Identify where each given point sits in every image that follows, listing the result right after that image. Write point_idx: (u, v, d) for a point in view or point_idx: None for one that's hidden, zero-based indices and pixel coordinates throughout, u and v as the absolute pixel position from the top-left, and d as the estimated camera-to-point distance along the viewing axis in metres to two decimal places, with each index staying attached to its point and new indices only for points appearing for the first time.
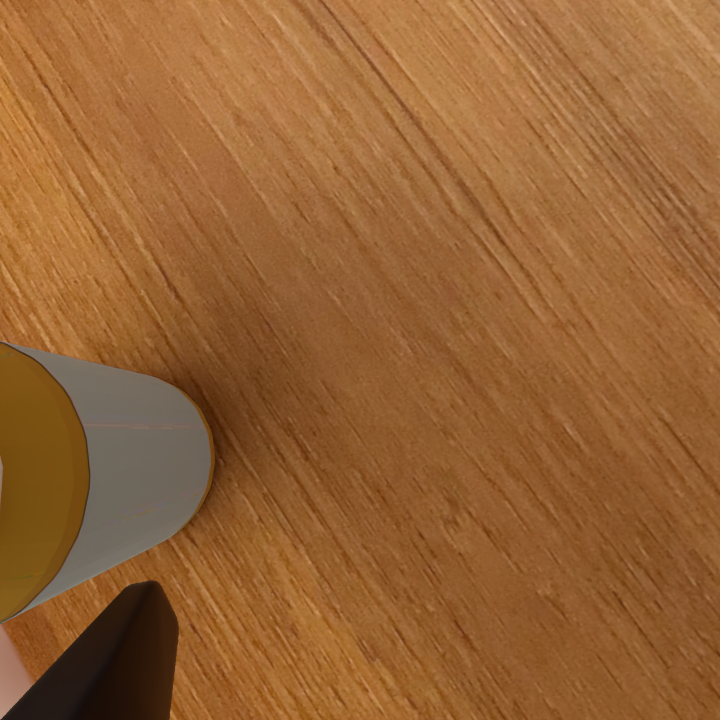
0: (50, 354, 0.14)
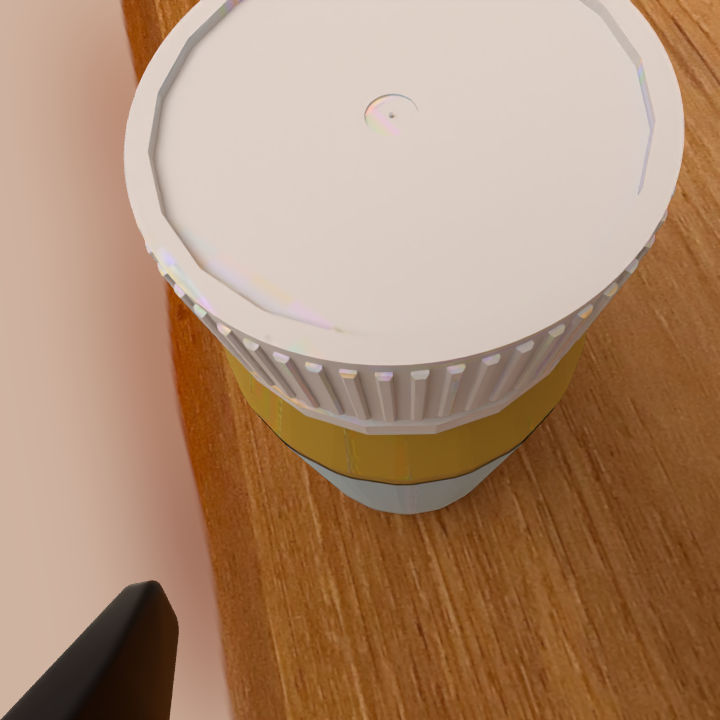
0: None
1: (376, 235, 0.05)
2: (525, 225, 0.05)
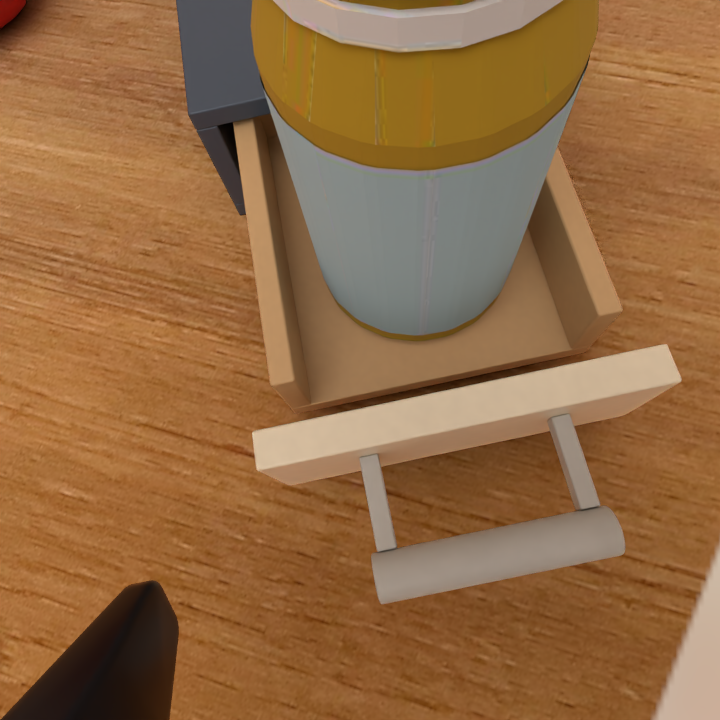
0: None
1: None
2: None
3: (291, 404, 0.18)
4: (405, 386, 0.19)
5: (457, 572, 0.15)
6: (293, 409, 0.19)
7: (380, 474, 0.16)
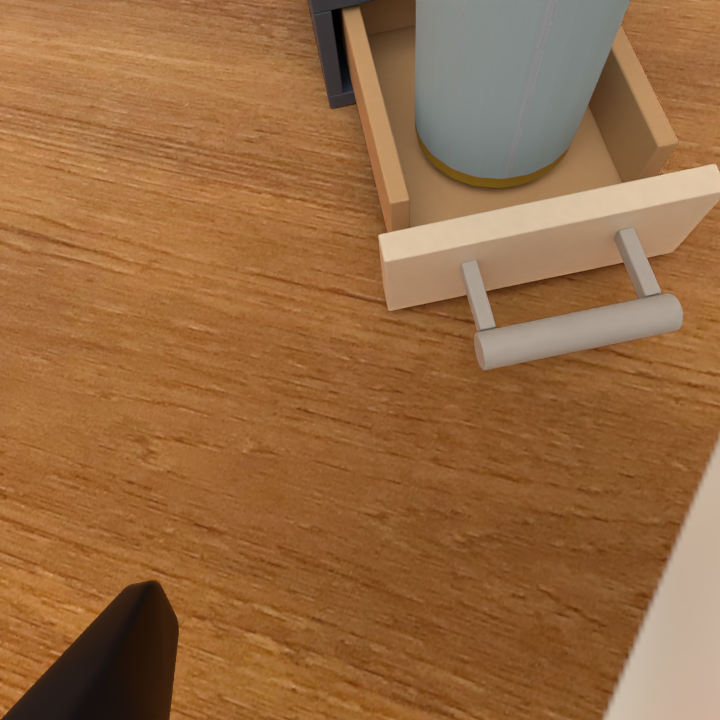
0: None
1: None
2: None
3: None
4: None
5: (548, 338, 0.18)
6: None
7: (479, 274, 0.20)
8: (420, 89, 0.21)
